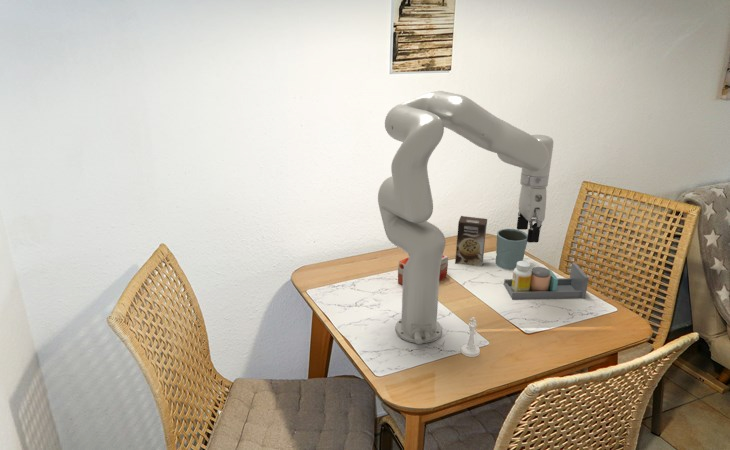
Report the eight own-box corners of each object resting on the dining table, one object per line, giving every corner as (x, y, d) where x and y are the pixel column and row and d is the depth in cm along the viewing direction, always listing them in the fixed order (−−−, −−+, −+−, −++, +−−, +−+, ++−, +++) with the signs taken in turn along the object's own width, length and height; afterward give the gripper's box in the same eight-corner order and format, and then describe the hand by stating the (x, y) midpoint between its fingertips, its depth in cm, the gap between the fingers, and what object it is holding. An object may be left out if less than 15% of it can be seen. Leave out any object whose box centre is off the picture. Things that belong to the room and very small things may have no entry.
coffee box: (454, 265, 189) (457, 221, 183) (457, 258, 195) (460, 215, 189) (481, 269, 187) (485, 224, 180) (483, 261, 192) (487, 218, 186)
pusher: (555, 295, 168) (558, 279, 165) (551, 295, 167) (554, 279, 165) (547, 285, 174) (550, 269, 172) (544, 285, 174) (546, 269, 172)
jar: (551, 295, 168) (554, 275, 165) (531, 296, 168) (534, 275, 165) (544, 286, 174) (547, 266, 171) (525, 286, 173) (527, 266, 171)
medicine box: (415, 293, 172) (416, 269, 169) (397, 283, 177) (397, 261, 174) (447, 278, 181) (449, 255, 178) (429, 269, 187) (430, 248, 184)
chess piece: (466, 343, 146) (469, 310, 142) (483, 350, 143) (486, 317, 139) (456, 352, 143) (459, 318, 139) (474, 359, 140) (477, 325, 136)
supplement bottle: (507, 291, 170) (510, 263, 167) (518, 285, 174) (521, 258, 170) (522, 297, 167) (525, 269, 163) (532, 292, 170) (536, 263, 166)
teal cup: (499, 258, 195) (502, 226, 190) (528, 264, 190) (532, 232, 186) (489, 269, 187) (492, 236, 182) (519, 276, 182) (523, 242, 177)
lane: (584, 301, 167) (588, 277, 164) (512, 302, 166) (515, 278, 163) (571, 285, 176) (575, 262, 173) (502, 286, 175) (505, 263, 172)
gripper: (558, 188, 149) (550, 247, 155) (537, 170, 165) (530, 224, 171) (531, 189, 149) (523, 247, 155) (512, 170, 165) (506, 224, 171)
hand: (527, 235), depth 163 cm, fingers open, 9 cm apart
